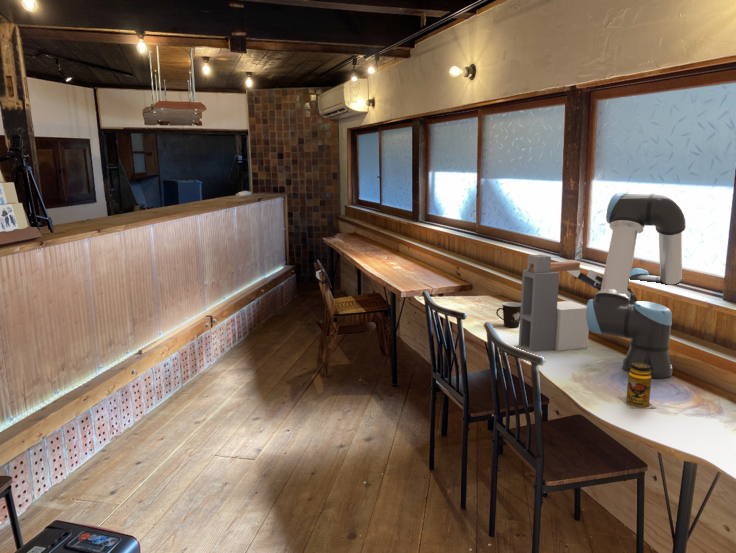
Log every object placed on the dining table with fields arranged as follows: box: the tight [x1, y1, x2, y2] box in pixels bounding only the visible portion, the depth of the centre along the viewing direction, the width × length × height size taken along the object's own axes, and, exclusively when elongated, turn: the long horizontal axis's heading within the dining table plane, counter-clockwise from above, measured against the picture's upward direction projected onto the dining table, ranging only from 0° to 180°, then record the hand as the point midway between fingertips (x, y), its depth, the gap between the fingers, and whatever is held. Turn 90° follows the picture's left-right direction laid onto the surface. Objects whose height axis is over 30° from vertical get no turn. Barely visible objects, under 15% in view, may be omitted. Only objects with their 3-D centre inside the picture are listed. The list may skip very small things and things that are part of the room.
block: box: [554, 300, 590, 351], centre depth 214 cm, size 12×13×16 cm
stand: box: [518, 269, 560, 353], centre depth 210 cm, size 9×10×30 cm
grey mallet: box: [526, 254, 581, 273], centre depth 208 cm, size 6×20×6 cm, turn 106°
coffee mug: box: [495, 301, 521, 329], centre depth 241 cm, size 12×9×10 cm
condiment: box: [618, 363, 657, 409], centre depth 160 cm, size 7×8×12 cm
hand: (577, 269), depth 212 cm, fingers open, 13 cm apart
